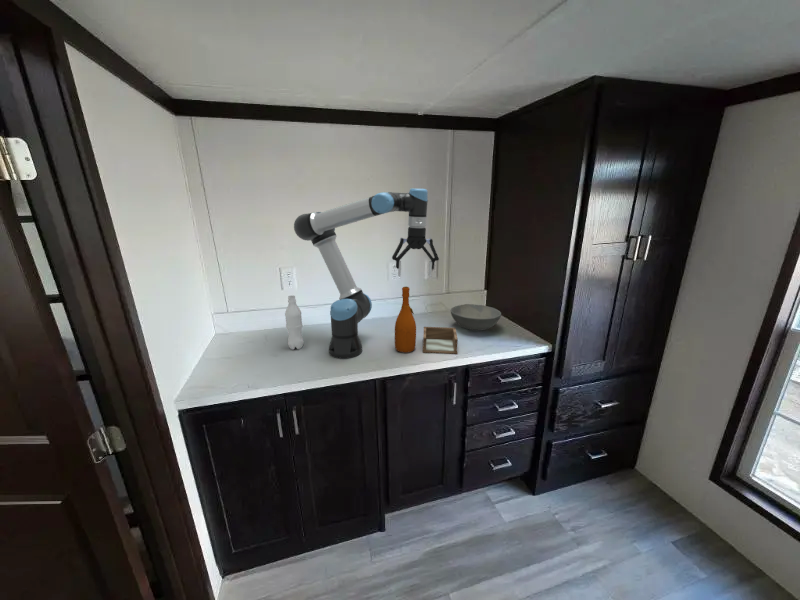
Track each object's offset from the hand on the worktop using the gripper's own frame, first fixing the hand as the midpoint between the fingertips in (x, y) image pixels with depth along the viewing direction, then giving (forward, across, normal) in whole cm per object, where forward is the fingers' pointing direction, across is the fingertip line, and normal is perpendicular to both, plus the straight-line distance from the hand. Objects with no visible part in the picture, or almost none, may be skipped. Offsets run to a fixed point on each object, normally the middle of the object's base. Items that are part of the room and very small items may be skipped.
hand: (414, 275), depth 152 cm
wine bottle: (+35, -3, -2) cm, 35 cm away
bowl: (+34, +38, +21) cm, 55 cm away
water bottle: (+36, -54, +5) cm, 65 cm away
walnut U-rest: (+34, +14, 0) cm, 37 cm away
